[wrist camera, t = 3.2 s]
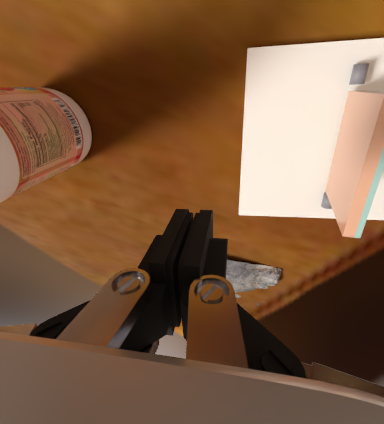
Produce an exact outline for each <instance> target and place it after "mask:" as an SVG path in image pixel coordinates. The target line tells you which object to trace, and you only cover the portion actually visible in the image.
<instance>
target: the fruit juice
mask: <svg viewBox="0 0 384 424" xmlns="http://www.w3.org/2000/svg"><path fill="white" fill-rule="evenodd" d="M91 142H92V133H91V128H90V124H89V121H88V119H87V117H86V115H85V113H84V112H83V110H82V109H81V108H80V106H79V105H78V104H77V103H76V102H75V101H74V100H73V99H71V98H70V97H69V96H67V95H66V94H64V93H62V92H60V91H57V90H54V89H49V88H0V202H2V201H4V200H6V199H8V198H10V197H12V196H14V195H16V194H18V193H20V192H22V191H24V190H26V189H28V188H30V187H32V186H34V185H36V184H38V183H40V182H42V181H44V180H46V179H48V178H50V177H52V176H54V175H56V174H58V173H60V172H62V171H64V170H67V169H69V168H71V167H73V166H75V165H77V164H78V163H79V162H81V161H82V160H83V159H84V158H85V157H86V155H87V154H88V152H89V150H90V147H91Z"/></svg>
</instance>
